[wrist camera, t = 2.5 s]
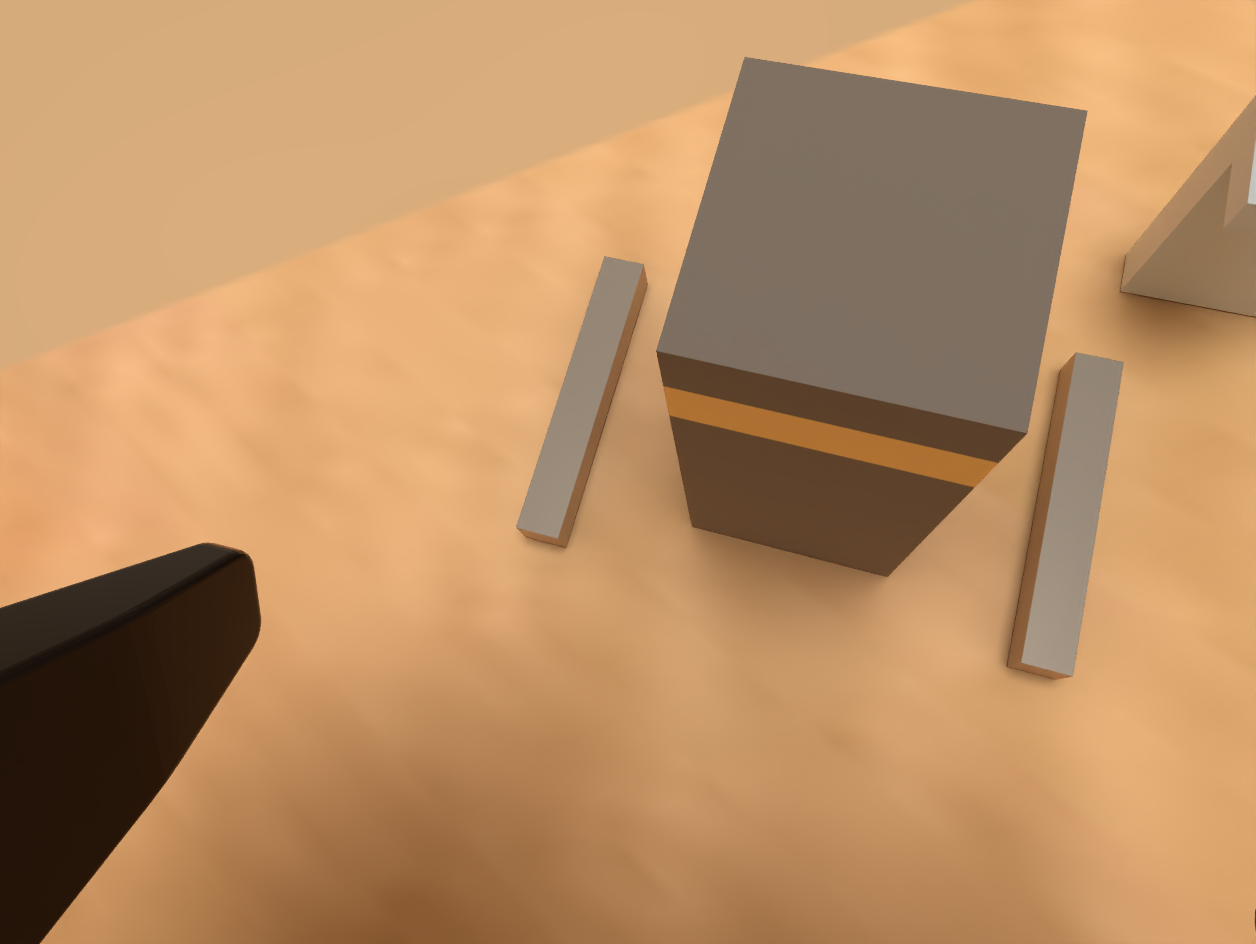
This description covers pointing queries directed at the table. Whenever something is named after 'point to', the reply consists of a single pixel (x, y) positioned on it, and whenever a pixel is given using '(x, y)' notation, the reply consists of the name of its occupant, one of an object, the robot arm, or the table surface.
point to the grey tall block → (862, 307)
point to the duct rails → (1082, 415)
